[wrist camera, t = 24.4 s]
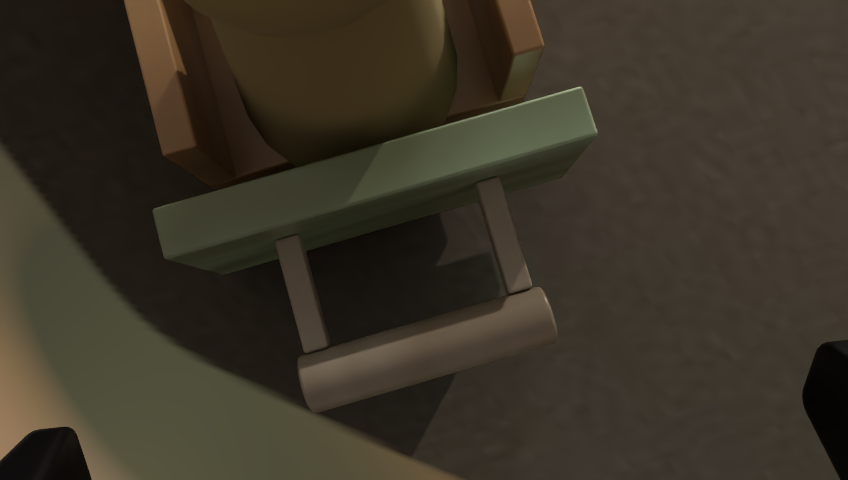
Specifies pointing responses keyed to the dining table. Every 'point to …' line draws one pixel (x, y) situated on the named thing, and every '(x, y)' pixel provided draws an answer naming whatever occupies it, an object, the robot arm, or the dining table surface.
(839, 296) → the dining table surface
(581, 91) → the drawer
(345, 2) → the olive rounded upright piece
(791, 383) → the dining table surface
